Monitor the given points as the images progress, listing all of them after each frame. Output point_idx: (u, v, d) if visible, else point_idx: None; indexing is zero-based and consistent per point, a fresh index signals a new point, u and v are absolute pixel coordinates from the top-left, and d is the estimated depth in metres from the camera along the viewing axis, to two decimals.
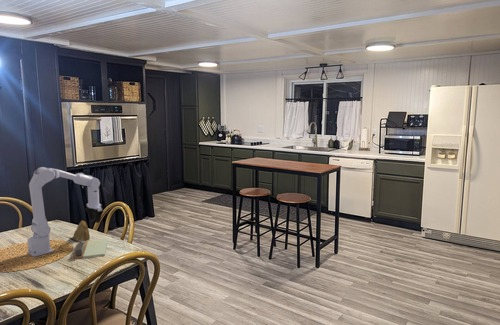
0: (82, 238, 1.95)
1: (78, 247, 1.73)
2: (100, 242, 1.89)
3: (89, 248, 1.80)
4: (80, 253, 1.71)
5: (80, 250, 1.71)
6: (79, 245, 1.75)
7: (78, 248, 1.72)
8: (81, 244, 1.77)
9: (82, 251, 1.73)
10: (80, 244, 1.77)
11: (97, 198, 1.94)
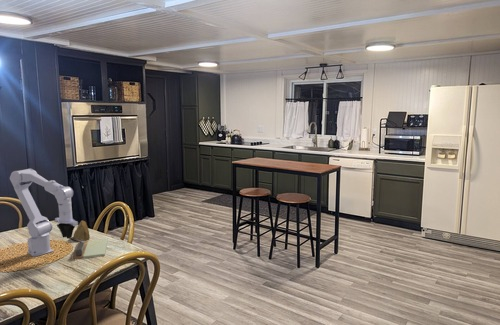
0: (82, 238, 1.95)
1: (78, 247, 1.73)
2: (100, 242, 1.89)
3: (89, 248, 1.80)
4: (80, 253, 1.71)
5: (80, 250, 1.71)
6: (79, 245, 1.75)
7: (78, 248, 1.72)
8: (81, 244, 1.77)
9: (82, 251, 1.73)
10: (80, 244, 1.77)
11: None
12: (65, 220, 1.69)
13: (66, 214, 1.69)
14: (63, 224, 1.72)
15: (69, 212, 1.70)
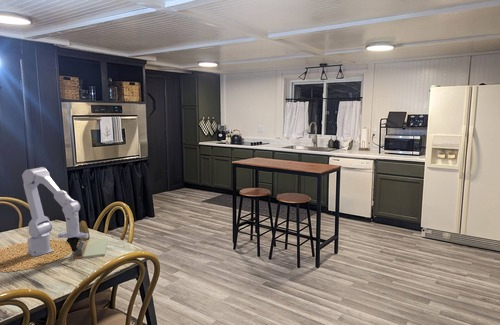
0: (82, 238, 1.95)
1: (78, 247, 1.73)
2: (100, 242, 1.89)
3: (89, 248, 1.80)
4: (80, 253, 1.71)
5: (80, 250, 1.71)
6: (79, 245, 1.75)
7: (78, 248, 1.72)
8: (81, 244, 1.77)
9: (82, 251, 1.73)
10: (80, 244, 1.77)
11: (66, 226, 1.71)
12: (75, 234, 1.70)
13: (76, 228, 1.70)
14: None
15: (78, 225, 1.72)
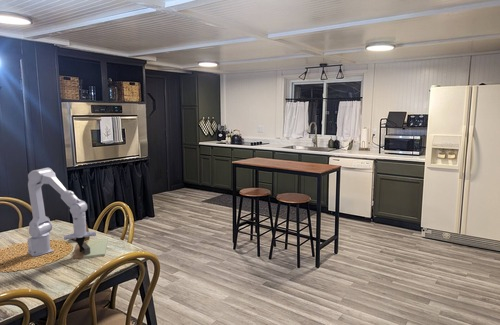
0: None
1: (84, 246, 1.74)
2: (100, 242, 1.89)
3: None
4: (88, 251, 1.73)
5: (88, 248, 1.73)
6: (82, 245, 1.76)
7: (85, 247, 1.73)
8: (84, 243, 1.78)
9: None
10: (83, 243, 1.78)
11: (73, 226, 1.70)
12: (84, 233, 1.72)
13: (85, 227, 1.72)
14: None
15: (85, 225, 1.73)
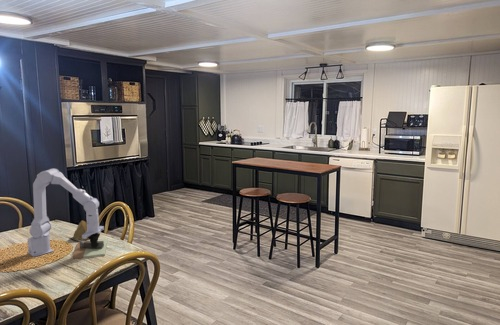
0: None
1: None
2: None
3: (89, 248, 1.80)
4: (103, 245, 1.82)
5: (103, 242, 1.81)
6: (90, 242, 1.80)
7: (99, 242, 1.80)
8: (89, 241, 1.81)
9: None
10: (87, 242, 1.80)
11: (91, 223, 1.74)
12: (99, 228, 1.79)
13: None
14: None
15: None
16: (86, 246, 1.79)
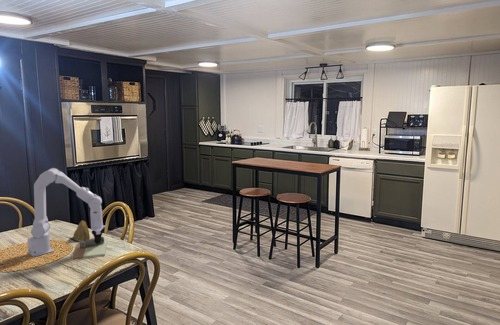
0: (82, 238, 1.95)
1: None
2: None
3: (89, 248, 1.80)
4: None
5: None
6: (92, 239, 1.83)
7: None
8: (89, 239, 1.83)
9: None
10: (88, 240, 1.82)
11: (99, 219, 1.81)
12: None
13: None
14: None
15: None
16: (88, 244, 1.82)
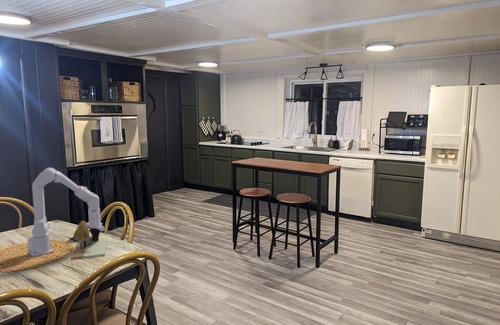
0: (82, 238, 1.95)
1: None
2: (100, 242, 1.89)
3: (89, 248, 1.80)
4: None
5: None
6: (89, 238, 1.85)
7: None
8: (86, 239, 1.84)
9: None
10: (86, 239, 1.83)
11: (98, 217, 1.85)
12: None
13: None
14: None
15: None
16: (88, 243, 1.83)
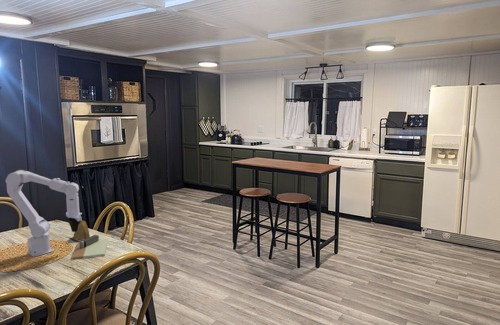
0: (82, 238, 1.95)
1: (93, 237, 1.88)
2: (100, 242, 1.89)
3: (89, 248, 1.80)
4: None
5: None
6: (89, 238, 1.85)
7: (94, 236, 1.89)
8: (86, 239, 1.84)
9: None
10: (86, 239, 1.83)
11: (77, 206, 1.77)
12: None
13: None
14: None
15: None
16: (88, 243, 1.83)
